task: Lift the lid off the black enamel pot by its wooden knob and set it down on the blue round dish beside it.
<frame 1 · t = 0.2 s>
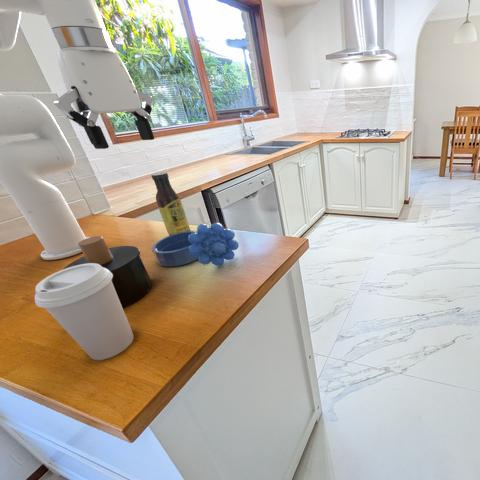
hand: (126, 143, 59), 31 cm above the table, tool pointing down, fingers open, 9 cm apart
pot: (120, 295, 66), on the table
blue flower toy: (222, 266, 74), on the table
blue round dish: (184, 255, 80), on the table
coffee cup: (113, 346, 52), on the table
lid: (102, 263, 62), point 8 cm above the table, touching pot
sauce bottle: (181, 235, 93), on the table
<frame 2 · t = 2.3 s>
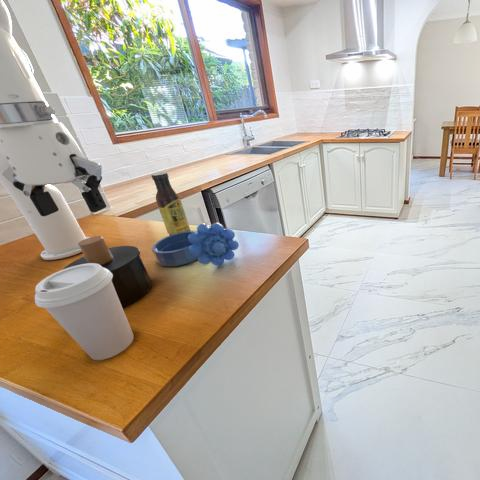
hand: (75, 211, 56), 20 cm above the table, tool pointing down, fingers open, 9 cm apart
nothing on the table moved.
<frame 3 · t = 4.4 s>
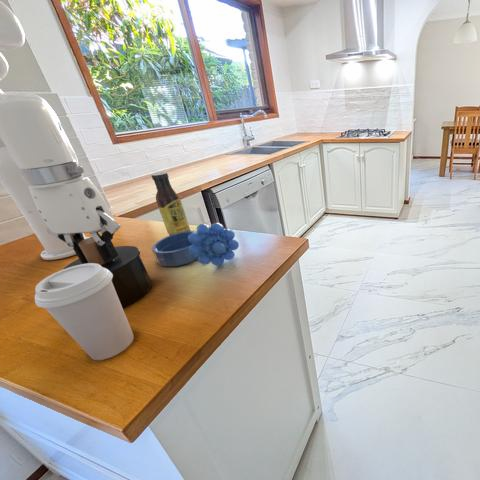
hand: (100, 259, 61), 10 cm above the table, tool pointing down, fingers closed on lid, 4 cm apart
lid: (102, 263, 62), point 9 cm above the table, touching gripper, pot
everything else where it was.
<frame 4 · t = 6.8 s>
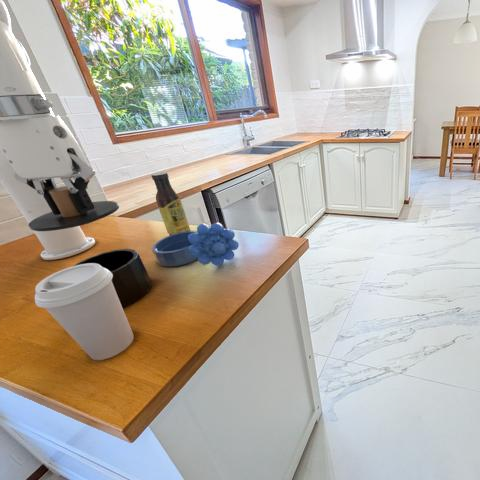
hand: (74, 210, 56), 21 cm above the table, tool pointing down, fingers closed on lid, 4 cm apart
lid: (77, 216, 57), point 19 cm above the table, touching gripper
everything else where it was.
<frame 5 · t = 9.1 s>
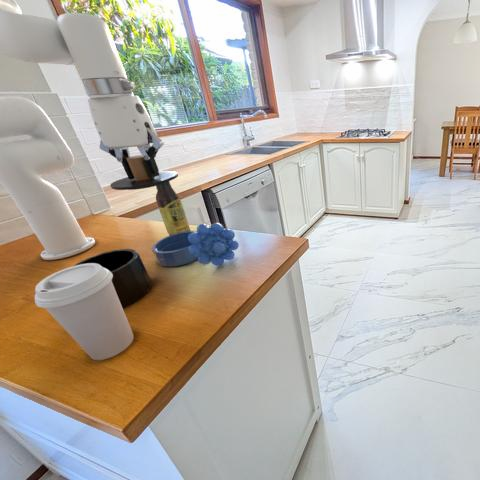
hand: (144, 176, 68), 23 cm above the table, tool pointing down, fingers closed on lid, 4 cm apart
lid: (146, 180, 68), point 22 cm above the table, touching gripper
everything else where it was.
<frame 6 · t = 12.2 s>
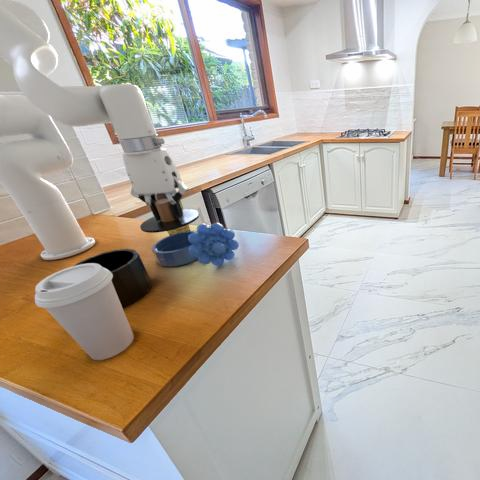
hand: (169, 217, 75), 12 cm above the table, tool pointing down, fingers closed on lid, 4 cm apart
lid: (171, 221, 76), point 10 cm above the table, touching gripper
everything else where it was.
when the fingers open (6 cm above the table, at t = 14.2 s): lid stays where it is, resting on blue round dish.
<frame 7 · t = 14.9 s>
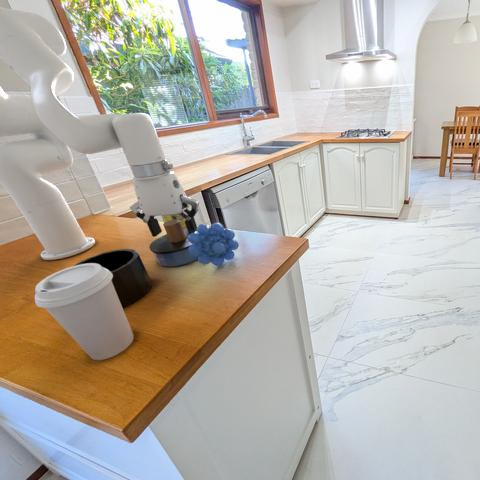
hand: (175, 233, 77), 7 cm above the table, tool pointing down, fingers open, 9 cm apart
lid: (179, 241, 78), point 4 cm above the table, touching blue round dish
everything else where it was.
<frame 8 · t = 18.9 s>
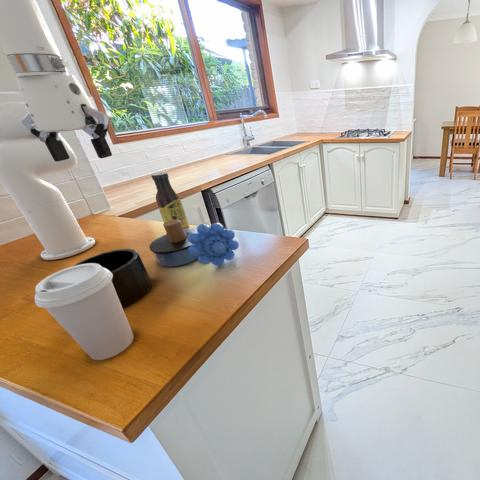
hand: (84, 158, 63), 28 cm above the table, tool pointing down, fingers open, 9 cm apart
nothing on the table moved.
at the end: lid 0.1 cm off-centre on the blue round dish, point 4.5 cm above the blue round dish's base; lid tilted 0°; the gripper is holding nothing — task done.
